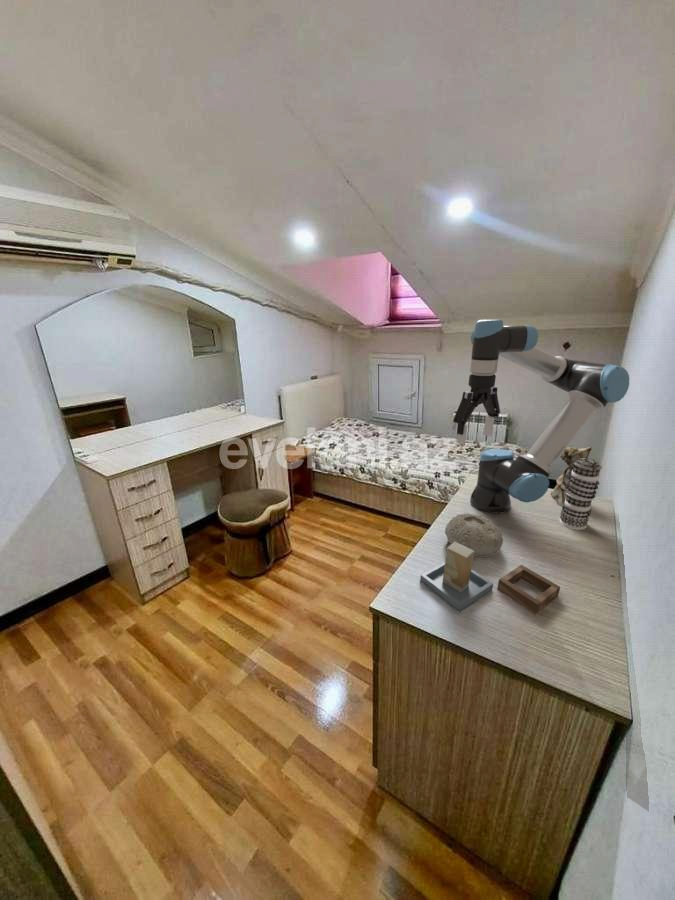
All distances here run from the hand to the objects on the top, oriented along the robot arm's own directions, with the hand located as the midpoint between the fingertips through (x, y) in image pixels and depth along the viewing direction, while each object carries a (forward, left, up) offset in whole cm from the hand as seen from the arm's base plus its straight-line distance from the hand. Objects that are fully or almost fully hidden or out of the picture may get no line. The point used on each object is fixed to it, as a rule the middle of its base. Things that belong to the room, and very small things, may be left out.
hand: (474, 439), depth 114 cm
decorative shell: (+6, +8, -35) cm, 36 cm away
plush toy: (-51, +11, -35) cm, 63 cm away
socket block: (+11, +30, -35) cm, 47 cm away
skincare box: (+25, +17, -34) cm, 46 cm away
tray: (+25, +17, -35) cm, 46 cm away
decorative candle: (-36, +20, -35) cm, 54 cm away
